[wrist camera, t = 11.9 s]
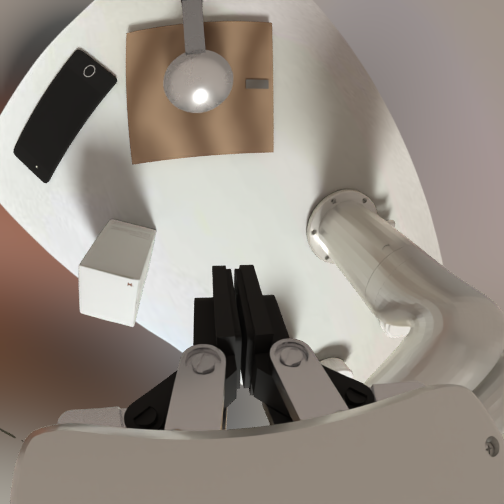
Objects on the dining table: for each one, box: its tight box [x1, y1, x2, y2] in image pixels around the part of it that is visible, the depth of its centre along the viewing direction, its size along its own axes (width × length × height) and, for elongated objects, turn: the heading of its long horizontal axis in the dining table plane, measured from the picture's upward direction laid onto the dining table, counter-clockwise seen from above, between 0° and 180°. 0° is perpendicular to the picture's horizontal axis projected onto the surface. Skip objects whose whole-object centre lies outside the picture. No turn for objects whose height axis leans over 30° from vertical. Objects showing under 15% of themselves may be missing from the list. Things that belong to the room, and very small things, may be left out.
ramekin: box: [320, 358, 353, 378], centre depth 59 cm, size 11×11×5 cm
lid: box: [380, 321, 411, 338], centre depth 54 cm, size 13×13×5 cm
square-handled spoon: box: [163, 0, 233, 113], centre depth 21 cm, size 16×7×3 cm, turn 5°
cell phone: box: [14, 50, 117, 183], centre depth 26 cm, size 9×18×1 cm, turn 133°
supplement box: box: [79, 219, 156, 327], centre depth 32 cm, size 7×7×13 cm
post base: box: [126, 21, 273, 165], centre depth 27 cm, size 18×18×4 cm
